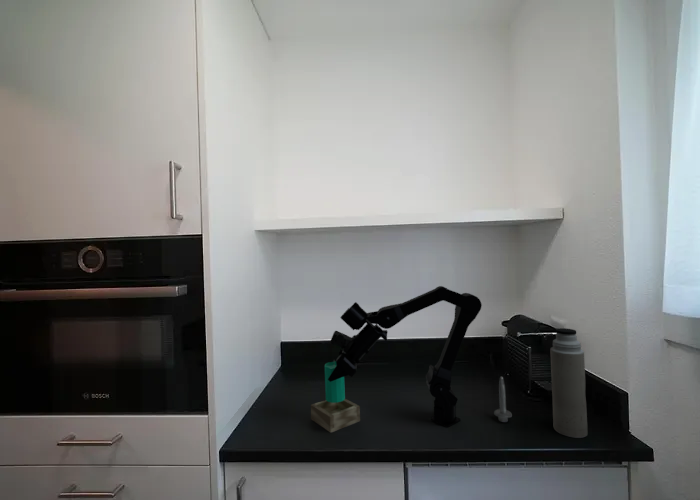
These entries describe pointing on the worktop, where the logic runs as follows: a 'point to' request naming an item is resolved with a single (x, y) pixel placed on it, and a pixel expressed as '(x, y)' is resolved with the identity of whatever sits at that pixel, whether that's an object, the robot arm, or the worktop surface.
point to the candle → (333, 385)
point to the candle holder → (335, 414)
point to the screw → (502, 404)
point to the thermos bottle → (568, 384)
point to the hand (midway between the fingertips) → (330, 377)
